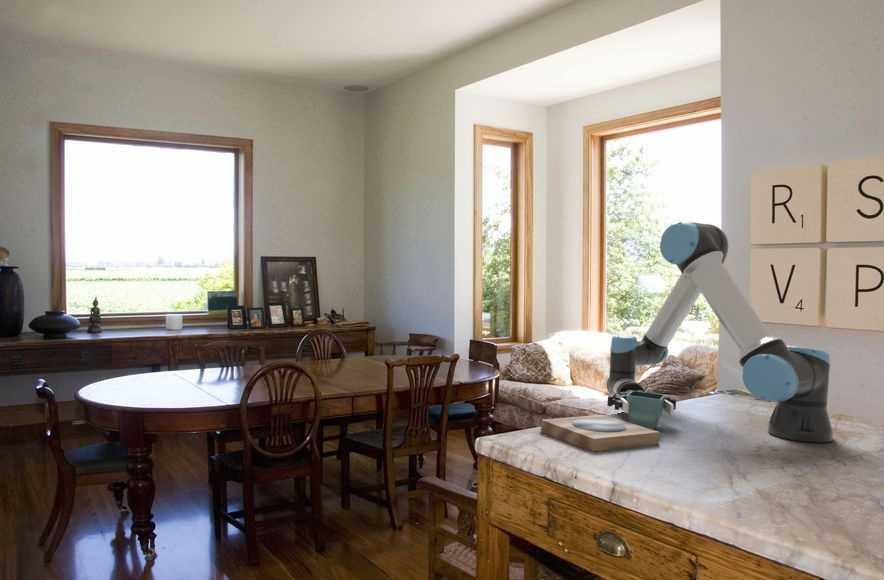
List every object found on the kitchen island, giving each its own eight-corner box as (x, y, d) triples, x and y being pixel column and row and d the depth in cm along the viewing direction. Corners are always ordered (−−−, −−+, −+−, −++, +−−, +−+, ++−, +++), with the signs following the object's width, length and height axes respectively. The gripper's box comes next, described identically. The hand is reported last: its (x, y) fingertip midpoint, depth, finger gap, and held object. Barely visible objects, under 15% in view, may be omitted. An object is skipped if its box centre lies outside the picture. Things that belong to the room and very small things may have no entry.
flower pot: (663, 427, 185) (665, 394, 184) (659, 434, 177) (661, 399, 176) (630, 423, 188) (631, 390, 188) (624, 429, 180) (626, 395, 180)
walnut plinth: (658, 444, 166) (659, 431, 166) (593, 452, 156) (594, 438, 156) (602, 425, 183) (603, 413, 183) (540, 431, 174) (541, 418, 174)
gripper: (669, 408, 200) (694, 425, 178) (587, 404, 201) (603, 421, 179) (670, 382, 200) (696, 396, 178) (589, 378, 200) (604, 392, 178)
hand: (649, 408), depth 178 cm, fingers closed on flower pot, 11 cm apart
